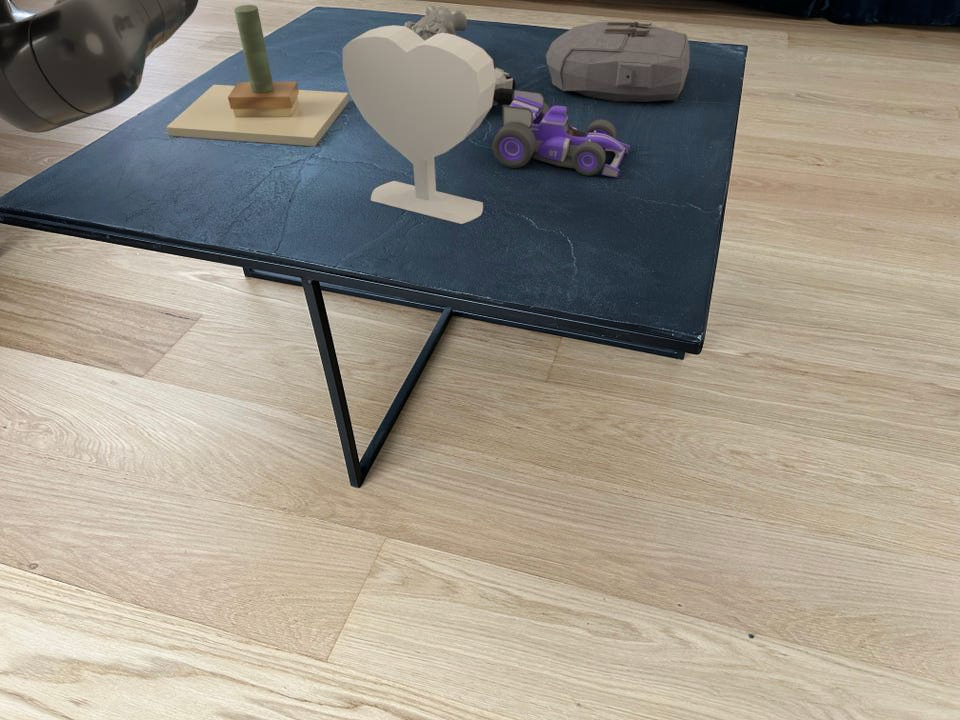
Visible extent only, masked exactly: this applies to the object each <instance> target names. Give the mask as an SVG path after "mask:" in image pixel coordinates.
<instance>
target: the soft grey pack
mask: <svg viewBox="0 0 960 720" xmlns="http://www.w3.org/2000/svg"><path fill="white" fill-rule="evenodd" d="M652 25H653V23H652V22H650V23H640V22H637V21H634V22H632V21H599V22H598V21H597V22H593V23H586V24H582V25H577V26H573V27H571V29H568V30H567V31H565V32H564V33H562V34H561V35H559V36H558V37H556V39H554V40H553V41H551V44H550V46H549V48H548V50H547V52H546V54H545V58H546V65H547V67H548V71H549V74H550V77H551V84H552V85H553V86H555V87H556V88H558V89H560V90H561V91H562V92H572V93H576V94H578V95H582V96H585V97H587V98H594V99H600V100H601V99H602V100H605V101H611V102H612V101H613V102H614V101H615V102H640V103H641V102H643V103H646V102H647V103H649V102H660V101H661V102H662V101H675V100H677V99H678V98H679V96H680V94H681V92H682V90H683V89H684V86H685V83H686V79H687V76H688V72H689V68H690V58H691V51H690V50H691V49H690V42H689V38H688V35H687V34H686V33H684V32H679V31H676V30H671V29H667V28H663V27H660V26H654V25H653V26H652Z"/></svg>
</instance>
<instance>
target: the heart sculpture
mask: <svg viewBox="0 0 960 720" xmlns="http://www.w3.org/2000/svg"><path fill="white" fill-rule="evenodd" d="M411 29H412V28H411ZM411 29H409V28H407V27H404V25H396V24H393V25H384V26H379V27H376V28H371V29H369V30H367V31H365V32H364V33H361V35H358V36H357V37H355V38H353V39H351V40H350V41H349V42H347V44H345V45H344V46H343V47H342V71H343V75H344V78H345V83H346V87H347V90H348V95H349V97H350V98H351V100H352V101H353V102H354V104H355V106H356V108H357V110H358V111H359V112H360V114H361V116H362V118H363V119H364V120H365V121H366V122H367V124H368V125H369V126H370V127H371V128H372V129H373V130H374V131H375V132H376V133H377V135H379V136H380V137H381V139H383V141H385V142H386V143H387V144H389V145H390V146H391V147H393V149H395V150H396V152H398V153H400V155H402V156H403V157H404V158H406V159H407V160H408V161H409V162H410V163H411V164H412V169H413V181H414V185H413V184H409V183H405V182H400V181H397V180H392V181H389V182H386V183H384V184H381V185H378V186H377V187H375V188H374V189H373V190H372V192H371V195H370V201H371V202H374V203H378V204H383V205H387V206H390V207H394V208H398V209H402V210H405V211H410V212H413V213H417V214H421V215H425V216H429V217H431V218H436V219H440V220H443V221H444V220H445V221H448V222H452V223H454V224H455V223H456V224H460V225H463V224H466V223H469V222H471V221H473V220H475V219H477V218H479V217H481V216H482V214H483V211H484V202H483V201H479V200H475V199H470V198H467V197H463V196H458V195H454V194H450V193H446V192H442V191H438V190H437V183H436V163H435V157H438V156H440V155H443V154H446V153H447V152H449V151H450V150H451V149H453V148H454V147H456V146H457V145H459V144H460V143H461V142H463V141H464V140H465V139H467V137H469V136H470V135H471V134H473V133H474V132H475V131H476V130H477V129H478V128H479V127H480V125H481V124H482V122H483V121H484V119H486V116H488V115H487V114H488V113H489V112H490V110H491V109H492V108H493V106H492V103H493V96H494V90H495V83H496V79H495V72H494V67H495V66H494V60H493V58H492V57H491V56H490V55H489V54H488V53H487V51H486V50H485V49H484V48H482V47H481V46H479V45H477V44H475V43H473V42H472V41H470V40H467V39H466V38H463V37H460V36H458V35H457V34H456V35H452V34H447V33H440V34H436V35H434V36H432V37H430V38H429V39H427V40H425V41H424V40H423V39H422V38H421V37H420V36H419V35H417V34H416V33H415V32H414V31H412V30H411Z"/></svg>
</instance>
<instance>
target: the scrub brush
mask: <svg viewBox="0 0 960 720" xmlns="http://www.w3.org/2000/svg"><path fill="white" fill-rule="evenodd" d="M233 10H234V15H235V21H236V24H237V29H238V34H239V37H240V42H241V47H242V51H243V57H244V61H245V65H246V69H247V75H248V78H249V81H237V82H236V84H235V85H234V86H235V87H234V88H233V90H232V92H231V93H230V95H229V96H228V100H229V104H230V108H231V109H233V112H234V116H235V117H292V116H293V113H294V111H295V109H296V107H297V105H298V102H299V101H298V94H299V91H298V90H299V87H298V85H299V84H298V81H273V76H272V72H271V67H270V61H269V57H268V52H267V47H266V43H265V36H264V32H263V28H262V23H261V22H262V21H261V16H260V12H259V7H258V6H257V5H254V4H241V5H238V6H236V7H235V8H234V9H233Z"/></svg>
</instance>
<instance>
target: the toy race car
mask: <svg viewBox="0 0 960 720" xmlns="http://www.w3.org/2000/svg"><path fill="white" fill-rule="evenodd" d="M513 94H514V99H513V100H512V103H511V104H510V105H507V104H501V106H502V109H501V111H502V117H501V120H502V121H501V122H502V127H500V129H499V130H498V132H496V134H495V136H494V138H493V140H492V146H491V147H492V148H491V149H492V153H493V156H494V158H496V159H497V161H498V162H499V163H500V164H501V165H502V166H505V167H507V168H511V169H518V168H522V167H524V166H525V165H526V164H527V163H528V162H529V161H530V160H531V158H532V159H534V160H537V161H540V162H544V163H547V164H551V165H554V166H557V167H562V168H569V169H574V170H575V171H576V172H577V173H579V174H580V175H582V176H586V177H591V176H595V175H597V174H599V172H600V171H601V170H602V171H601V175H602V176H606V177H611V178H619V174H620V168H619V166H620V164H621V163H622V160H623V158H624V156H625V154H629V153H630V151H631V150H630V149H631V145H629V144H627V143H624V142H622V141H619V140H618V139H617V134H618V133H617V130H616V127H615V126H614V124H613V123H612V122H610V121H609V120H607V119H596V120H593V121H592V122H591V123H590V124H589V125H588V127H587V129H586V131H584V130H579V129H578V128H577V127H574V126H572V125H570V123H569V115H568V107H567V106H565V105H564V106H563V105H553V106H551V107H549V105H548V104H547V103H546V102H545V97H544V96H543V94H542V93H541V92H536V91H535V92H534V91H526V90H518V89H514V90H513ZM607 152H613V153H614V154H615V156H614V158H613V160H612V162H611V163H610V164H607V163H605V162H606V158H607V157H606V155H607Z"/></svg>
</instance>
